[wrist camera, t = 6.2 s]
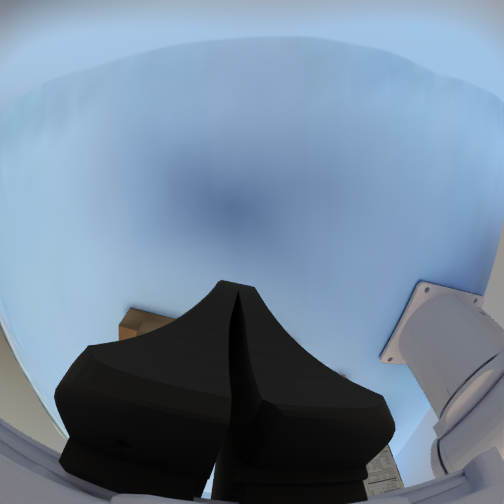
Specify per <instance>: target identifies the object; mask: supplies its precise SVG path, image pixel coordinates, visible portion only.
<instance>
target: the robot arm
mask: <svg viewBox="0 0 504 504" xmlns="http://www.w3.org/2000/svg"><path fill="white" fill-rule="evenodd" d="M426 288H427V289H426ZM425 289H426V290H425ZM483 302H484V298H483V297H482V296H480V295H476V294H472V293H468V292H464V291H460V290H456V289H452V288H448V287H444V286H440V285H435V284H431V283H427V282H419V283H418V284H417V286H416V288H415V290H414V293H413V295H412V297H411V299H410V301H409V303H408V305H407V307H406V310H405V312H404V314H403V316H402V318H401V320H400V322H399V323H398V325H397V327H396V329H395V331H394V333H393V335H392V337H391V339H390V340H389V342H388V344H387V346H386V348H385V349H384V351H383V353H382V355H381V356H380V360H381V362H382V363H393V364H407V365H408V367H409V368H410V370H411V372H412V373H413V375H414V377H415V378H416V380H417V382H418V384H419V385H420V387H421V389H422V390H423V392H424V394H425V396H426V397H427V399H428V401H429V403H430V405H431V406H432V408H433V410H434V412H435V413H436V415H437V417H438V419H439V421H438V422H437V423H436V425H435V426H434V427H433V429H434V431H435V433H436V435H437V438H436V439H435V440H434V442H433V444H432V447H431V467H432V471H433V473H434V476H435V478H436V479H434V480H431V481H428V482H424V483H421V484H418V485H414V486H411V487H407V488H404V489H400V490H396V491H391V492H387V493H383V494H378V495H373V496H367V494H366V490H365V486H364V482H363V480H366V479H367V478H368V471H367V468H366V465H367V464H368V463H369V462H370V461H371V460H372V459H373V458H375V457H376V456H377V455H378V454H379V453H380V452H381V451H382V450H383V449H384V448H385V447H386V445H387V444H388V443H389V442H390V440H391V439H392V437H393V435H394V432H395V422H394V420H393V417H392V415H391V413H390V411H389V408H388V406H387V404H386V401H385V399H384V397H383V396H382V395H380V394H378V393H375V392H373V391H371V390H369V389H366V388H364V387H362V386H360V385H358V384H356V383H354V382H352V381H350V380H348V379H346V378H345V377H343V376H341V375H340V374H338V373H336V372H335V371H333V370H331V369H330V368H328V367H327V366H325V365H324V364H323V363H321V362H320V361H319V360H317V359H316V358H315V357H313V356H312V355H311V354H310V353H308V352H307V351H306V350H305V349H304V348H303V347H301V346H300V345H299V344H298V343H297V342H296V341H295V340H294V339H293V338H292V337H291V336H290V335H289V334H288V333H287V332H286V331H285V329H284V328H283V327H282V326H281V325H280V323H279V322H278V321H277V320H276V318H275V317H274V316H273V315H272V313H271V312H270V310H269V309H268V308H267V306H266V305H265V303H264V301H263V300H262V298H261V297H260V295H259V293H258V292H257V290H256V289H255V287H252V286H247V285H243V284H238V283H233V282H229V281H224V280H220V281H219V282H218V283H217V284H216V286H215V287H214V288H213V289H212V291H211V292H210V293H209V294H208V295H207V296H206V297H205V298H203V299H202V300H201V301H200V302H199V303H198V304H197V305H195V306H194V307H193V308H192V309H190V310H189V311H188V312H186V313H185V314H183V315H182V316H180V317H179V318H177V319H176V320H174V321H172V322H170V323H169V324H167V325H164V326H162V327H160V328H158V329H155V330H153V331H151V332H148V333H145V334H142V335H139V336H136V337H132V338H129V339H125V340H120V341H115V342H109V343H103V344H97V345H89V346H88V347H87V348H86V349H85V350H84V351H83V352H82V353H81V354H80V355H79V356H78V358H77V359H76V360H75V361H74V363H73V364H72V365H71V367H70V368H69V370H68V371H67V373H66V374H65V376H64V377H63V379H62V380H61V382H60V383H59V385H58V386H57V388H56V390H55V395H54V399H55V403H56V407H57V409H58V412H59V414H60V417H61V419H62V421H63V423H64V426H65V428H66V430H67V432H68V434H69V436H70V437H69V439H68V441H67V444H66V446H65V448H64V450H63V452H62V454H61V453H59V452H57V451H55V450H53V449H51V448H49V447H47V446H45V445H43V444H41V443H40V442H38V441H36V440H34V439H33V438H31V437H29V436H28V435H26V434H24V433H23V432H21V431H19V430H18V429H16V428H15V427H13V426H12V425H10V424H9V423H7V422H6V421H4V420H3V419H1V418H0V504H504V330H503V329H502V327H501V326H499V325H498V324H497V323H496V322H495V321H494V320H493V319H492V318H491V317H490V316H489V315H488V314H487V313H485V312H484V311H483V310H482V309H481V306H482V304H483ZM390 357H391V358H390ZM215 462H216V464H215ZM214 465H215V471H214V479H213V486H212V494H211V499H204V498H201V496H202V493H203V491H204V488H205V485H206V483H207V480H208V479H209V478H210V476H211V473H212V470H213V468H214Z"/></svg>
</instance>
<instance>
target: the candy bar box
mask: <svg viewBox="0 0 504 504" xmlns="http://www.w3.org/2000/svg"><path fill="white" fill-rule="evenodd" d="M366 468H367V471H368V478H367V479H366V480H363V482H364V486H365V490H366V494H367V496H373V495H378V494H383V493H387V492H391V491H396V490H400V489H404V488H405V487H404V484H403V482H402V480H401V477H400V474H399V471H398V468H397V465H396V463H395V460H394V458H393V455H392V453H391V450H390V447H389V445H388V444H387V445H386V447H385V448H384V449H383V450H382V451H381V452H380V453H379V454H378V455H377V456H376V457H375V458H373V459H372V460H371V461H370V462H369V463H368V464H367V465H366Z"/></svg>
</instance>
